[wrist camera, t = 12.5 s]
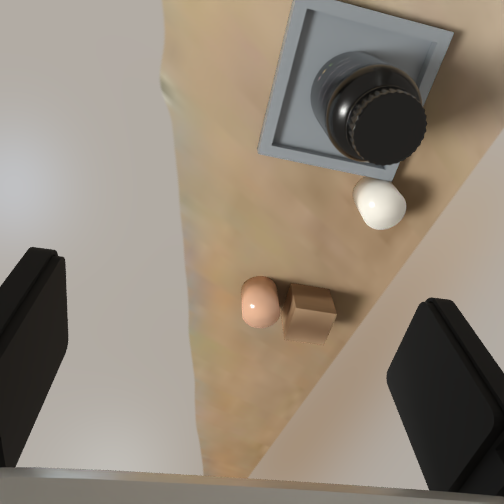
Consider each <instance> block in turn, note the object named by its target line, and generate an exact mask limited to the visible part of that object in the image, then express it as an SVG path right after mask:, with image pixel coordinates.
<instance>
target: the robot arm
mask: <svg viewBox="0 0 504 504" xmlns="http://www.w3.org/2000/svg"><path fill="white" fill-rule="evenodd" d="M66 294H67V293H66V269H65V259H64V257H60V256H58V254H57V251H55V250H51V249H44V248H36V247H30V248H29V249H28V250H27V252H26V253H25V254H24V256H23V257H22V258H21V260H20V261H19V262H18V264H17V265H16V266H15V268H14V269H13V270H12V272H11V273H10V274H9V276H8V277H7V278H6V280H5V281H4V283H3V284H2V285H1V287H0V504H504V373H503V371H502V370H501V369H500V367H499V366H498V364H497V363H496V362H495V361H494V359H493V357H492V356H491V354H490V353H489V352H488V350H487V349H486V347H485V346H484V345H483V343H482V342H481V340H480V339H479V338H478V336H477V335H476V334H475V332H474V330H473V329H472V327H471V326H470V325H469V323H468V322H467V320H466V319H465V318H464V316H463V315H462V313H461V312H460V311H459V309H458V308H457V306H456V305H455V303H454V302H453V301H451V300H447V299H439V298H428V299H427V300H426V301H425V302H422V303H420V304H419V306H418V308H417V310H416V312H415V314H414V316H413V319H412V321H411V323H410V325H409V327H408V329H407V331H406V333H405V335H404V337H403V340H402V342H401V344H400V346H399V348H398V350H397V352H396V354H395V356H394V358H393V360H392V363H391V365H390V367H389V369H388V371H387V384H388V387H389V389H390V392H391V394H392V397H393V400H394V402H395V405H396V407H397V410H398V412H399V415H400V417H401V420H402V422H403V425H404V427H405V430H406V432H407V435H408V437H409V440H410V443H411V445H412V447H413V450H414V453H415V455H416V458H417V460H418V463H419V465H420V467H421V470H422V473H423V475H424V478H425V480H426V483H427V485H428V488H429V491H428V490H415V489H399V488H386V487H385V488H384V487H371V486H357V485H341V484H326V483H311V482H296V481H295V482H294V481H279V480H262V479H248V478H232V477H215V476H197V475H181V474H163V473H146V472H129V471H111V470H86V469H63V468H40V467H39V468H38V467H28V468H27V467H26V468H25V467H17V468H16V464H17V462H18V460H19V458H20V455H21V453H22V450H23V448H24V446H25V444H26V441H27V439H28V437H29V435H30V433H31V430H32V428H33V426H34V423H35V421H36V419H37V417H38V414H39V412H40V410H41V407H42V405H43V403H44V401H45V398H46V396H47V394H48V391H49V389H50V387H51V384H52V382H53V380H54V378H55V376H56V373H57V371H58V369H59V366H60V364H61V362H62V360H63V357H64V355H65V353H66V349H67V345H68V319H67V296H66Z"/></svg>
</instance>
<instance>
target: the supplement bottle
mask: <svg viewBox="0 0 504 504" xmlns="http://www.w3.org/2000/svg"><path fill="white" fill-rule="evenodd" d="M310 99H311V107H312V110H313V113H314V115H315V117H316V119H317V121H318V122H319V124H320V125H321V127H322V129H323V130H324V132H325V133H326V135H327V136H328V138H329V139H330V141H331V143H332V144H333V145H334V147H335V148H336V149H337V150H338V151H339V152H340V153H341V154H343V155H344V156H346V157H347V158H349V159H352V160H354V161H358V162H367V163H368V162H369V163H374V164H375V165H382V166H385V165H392V164H397V163H399V162H400V161H403V160H405V159H406V158H407V157H409V156H411V154H412V153H413V152H415V151H416V149H417V147H418V146H419V145H420V144H421V141H422V140H423V138H424V134H425V132H426V125H427V122H426V115H425V109H424V108H423V107H422V98H421V94H420V91H419V89H418V86H417V85H416V83H415V81H414V80H413V79H412V78H411V77H410V76H409V75H408V74H407V73H406V72H404V71H403V70H401V69H400V68H398V67H396V66H393V65H391V64H389V63H387V62H385V61H383V60H381V59H379V58H376V57H374V56H372V55H369V54H367V53H364V52H356V51H353V52H345V53H342V54H339V55H337V56H335V57H333V58H332V59H330V60H329V61H328V62H326V63H325V64H324V65H323V66H322V68H321V69H320V70H319V72H318V73H317V75H316V77H315V79H314V81H313V84H312V88H311V95H310Z"/></svg>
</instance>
